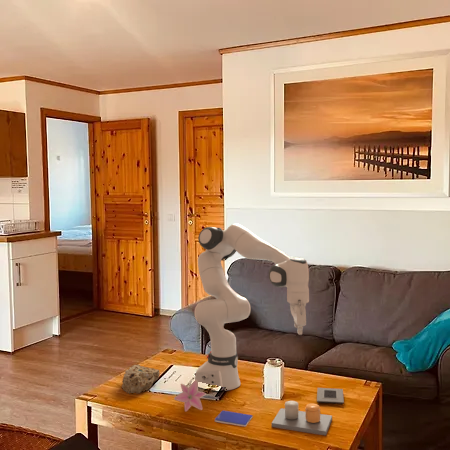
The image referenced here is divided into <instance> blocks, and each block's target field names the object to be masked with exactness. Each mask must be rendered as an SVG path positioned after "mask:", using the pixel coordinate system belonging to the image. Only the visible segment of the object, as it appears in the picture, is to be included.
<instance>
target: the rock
mask: <svg viewBox="0 0 450 450" xmlns="http://www.w3.org/2000/svg"><path fill="white" fill-rule="evenodd" d="M159 378H160V369H156V368H153V367H147V366H142V365H140V364H133V365H131V366H130V367H129V368H128V369H125V371H124V374H123V377H122V385H121V388H122V390H123V392H126V394H128V393H129V394H128V395H131V394H130V393H136V394H141V392H142V391H143V392H145V390H146V391H149V390H150V389H151V388H152V386H153V384H154V383H155V382H156V381H157V380H158V379H159Z"/></svg>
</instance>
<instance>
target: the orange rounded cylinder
mask: <svg viewBox="0 0 450 450" xmlns="http://www.w3.org/2000/svg"><path fill="white" fill-rule="evenodd" d="M304 412H306V420H307V421H308V422H311V423H316V422H319V421H320V414H321V408H320V405H319V404H317V403H308V404H306V405H305V410H304Z"/></svg>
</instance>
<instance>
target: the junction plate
mask: <svg viewBox="0 0 450 450" xmlns="http://www.w3.org/2000/svg"><path fill="white" fill-rule="evenodd" d="M332 421H333V415H330V414H322V413H320V421H319V422H316V423H311V422H308V421H307V420H306V412H305V411H302V410H299V402H298V401H295V400H288V401H285V403H284V408H279V410H278V412H277V413H276V416H275V417H274V419H273V420H272V422H271V428H277V429H281V430H283V429H284V430H290V431H296V432H302V433H307V434H314V435H319V436H321V435H322V436H327V434H328V431H329V428H330V426H331V424H332Z"/></svg>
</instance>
